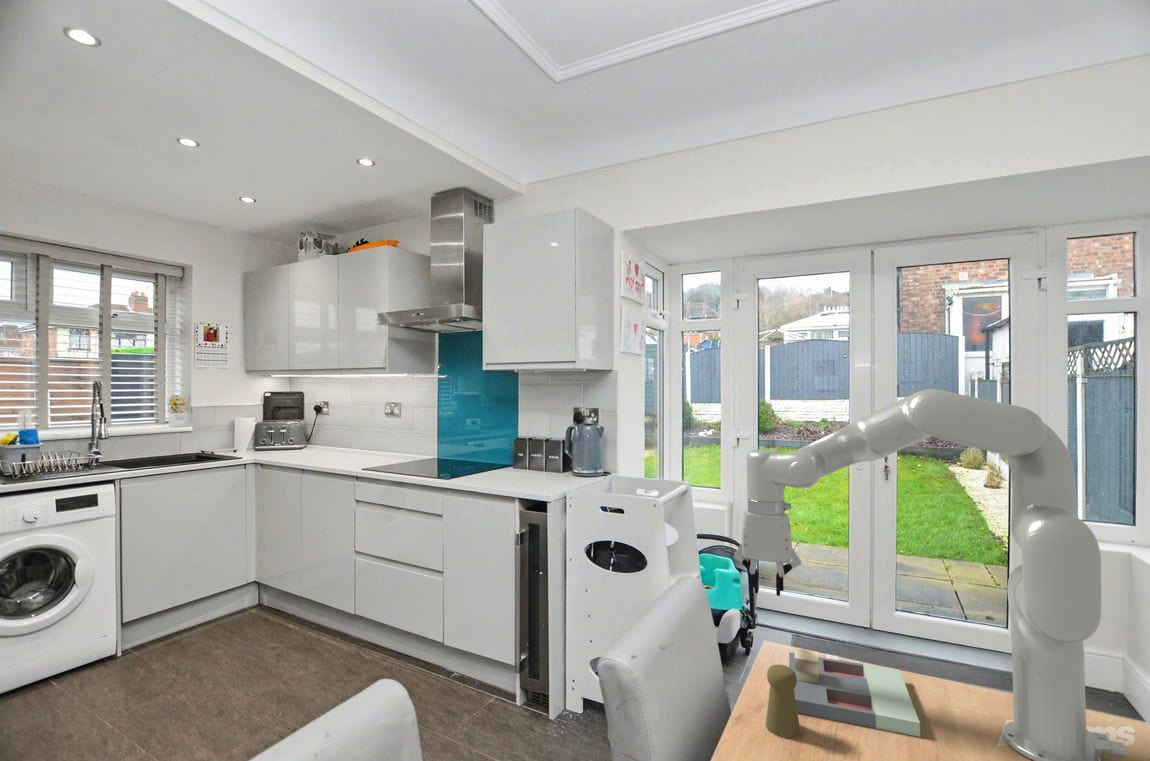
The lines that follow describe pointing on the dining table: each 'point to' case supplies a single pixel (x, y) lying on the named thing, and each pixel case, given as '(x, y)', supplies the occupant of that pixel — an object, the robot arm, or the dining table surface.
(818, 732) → the dining table surface
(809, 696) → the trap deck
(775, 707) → the olive pawn
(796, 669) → the beech block
